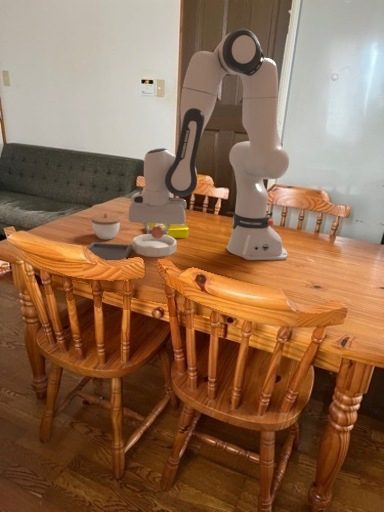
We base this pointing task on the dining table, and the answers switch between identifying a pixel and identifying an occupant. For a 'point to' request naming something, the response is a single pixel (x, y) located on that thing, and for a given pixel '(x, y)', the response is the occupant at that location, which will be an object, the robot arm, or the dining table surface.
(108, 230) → the lidded jar
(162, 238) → the white round dish
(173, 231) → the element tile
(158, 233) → the ball
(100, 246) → the tray
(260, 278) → the dining table surface
